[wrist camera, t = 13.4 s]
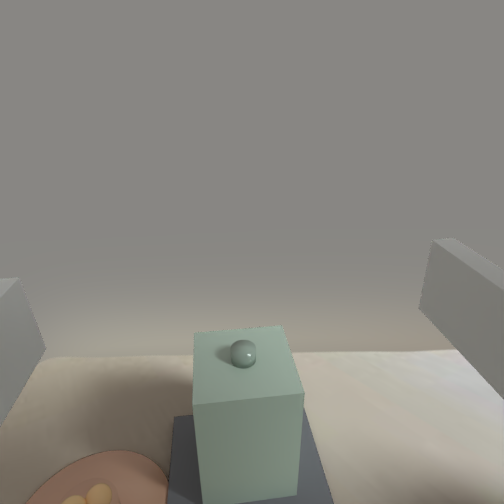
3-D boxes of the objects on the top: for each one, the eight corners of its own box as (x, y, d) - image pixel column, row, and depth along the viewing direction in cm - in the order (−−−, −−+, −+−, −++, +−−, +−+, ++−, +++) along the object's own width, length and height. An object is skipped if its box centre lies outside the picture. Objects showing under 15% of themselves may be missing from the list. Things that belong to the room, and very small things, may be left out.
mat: (302, 408, 40) (302, 403, 40) (334, 514, 30) (335, 508, 30) (175, 422, 39) (174, 416, 38) (165, 538, 29) (164, 533, 28)
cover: (278, 417, 38) (282, 314, 32) (296, 495, 31) (305, 380, 25) (202, 426, 37) (193, 321, 32) (203, 508, 30) (190, 392, 24)
